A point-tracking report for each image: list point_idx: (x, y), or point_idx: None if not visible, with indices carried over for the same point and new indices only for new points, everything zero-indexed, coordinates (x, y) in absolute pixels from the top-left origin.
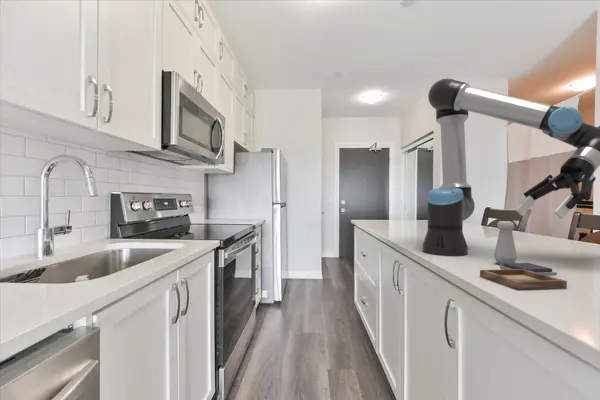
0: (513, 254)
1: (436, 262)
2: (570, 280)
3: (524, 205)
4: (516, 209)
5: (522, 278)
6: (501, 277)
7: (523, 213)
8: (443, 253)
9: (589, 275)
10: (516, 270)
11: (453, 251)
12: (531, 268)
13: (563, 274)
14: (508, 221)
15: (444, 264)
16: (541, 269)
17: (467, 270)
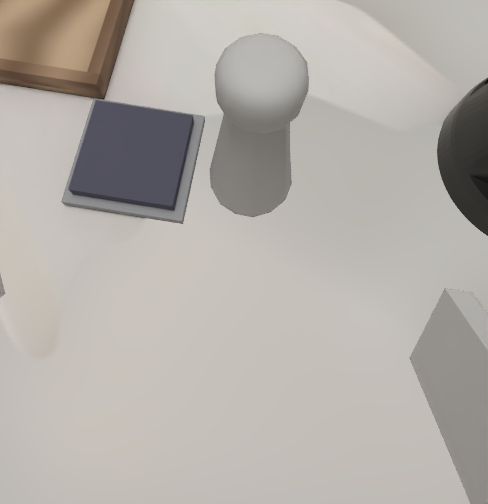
0: (212, 168)
1: (337, 9)
2: (4, 174)
3: (484, 391)
4: (472, 298)
5: (60, 43)
6: None
7: (424, 369)
8: (457, 104)
9: (14, 311)
10: (93, 55)
11: (448, 126)
12: (98, 126)
13: (62, 236)
14: (244, 64)
15: (303, 11)
16: (80, 151)
17: (211, 12)
